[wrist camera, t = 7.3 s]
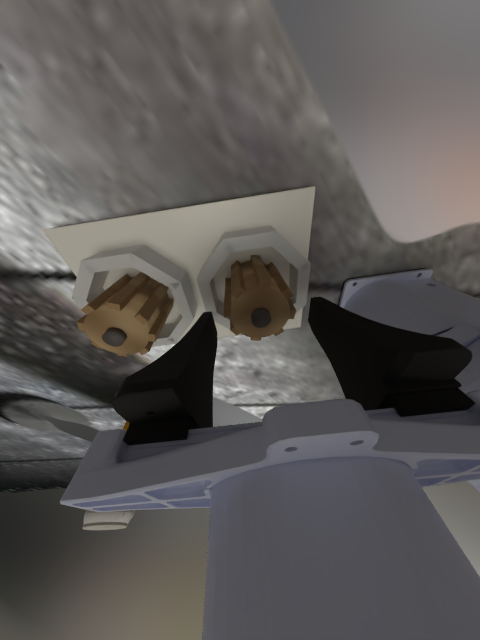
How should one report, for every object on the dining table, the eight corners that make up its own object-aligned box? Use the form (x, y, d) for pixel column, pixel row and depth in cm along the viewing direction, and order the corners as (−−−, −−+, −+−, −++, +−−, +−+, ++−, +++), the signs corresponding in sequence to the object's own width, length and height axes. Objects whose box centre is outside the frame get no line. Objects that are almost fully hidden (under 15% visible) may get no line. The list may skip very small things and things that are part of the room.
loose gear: (283, 256, 16) (309, 287, 11) (273, 305, 19) (289, 347, 14) (225, 253, 16) (223, 283, 10) (225, 303, 19) (223, 347, 14)
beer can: (124, 408, 34) (66, 528, 22) (151, 402, 33) (107, 523, 21) (143, 421, 37) (103, 531, 25) (169, 416, 36) (139, 526, 24)
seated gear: (145, 260, 16) (103, 294, 11) (184, 303, 19) (167, 347, 13) (106, 288, 17) (51, 330, 12) (148, 324, 20) (119, 371, 15)
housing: (308, 186, 14) (330, 185, 11) (296, 320, 23) (307, 341, 20) (57, 227, 15) (11, 236, 12) (135, 341, 24) (120, 364, 20)
